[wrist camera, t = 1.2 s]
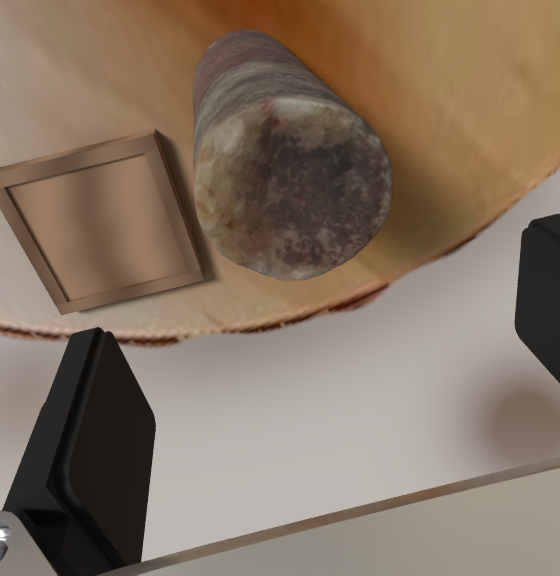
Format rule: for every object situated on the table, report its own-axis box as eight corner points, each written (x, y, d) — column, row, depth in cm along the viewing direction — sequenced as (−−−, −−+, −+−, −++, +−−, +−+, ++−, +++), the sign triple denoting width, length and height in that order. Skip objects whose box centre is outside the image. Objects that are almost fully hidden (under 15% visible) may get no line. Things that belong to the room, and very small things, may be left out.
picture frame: (155, 129, 34) (153, 135, 33) (204, 271, 41) (204, 280, 39) (-10, 169, 34) (-19, 177, 33) (65, 304, 41) (61, 315, 39)
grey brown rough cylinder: (320, 108, 35) (426, 228, 18) (236, 164, 36) (261, 324, 19) (263, 3, 31) (329, 32, 14) (171, 71, 32) (130, 171, 15)
